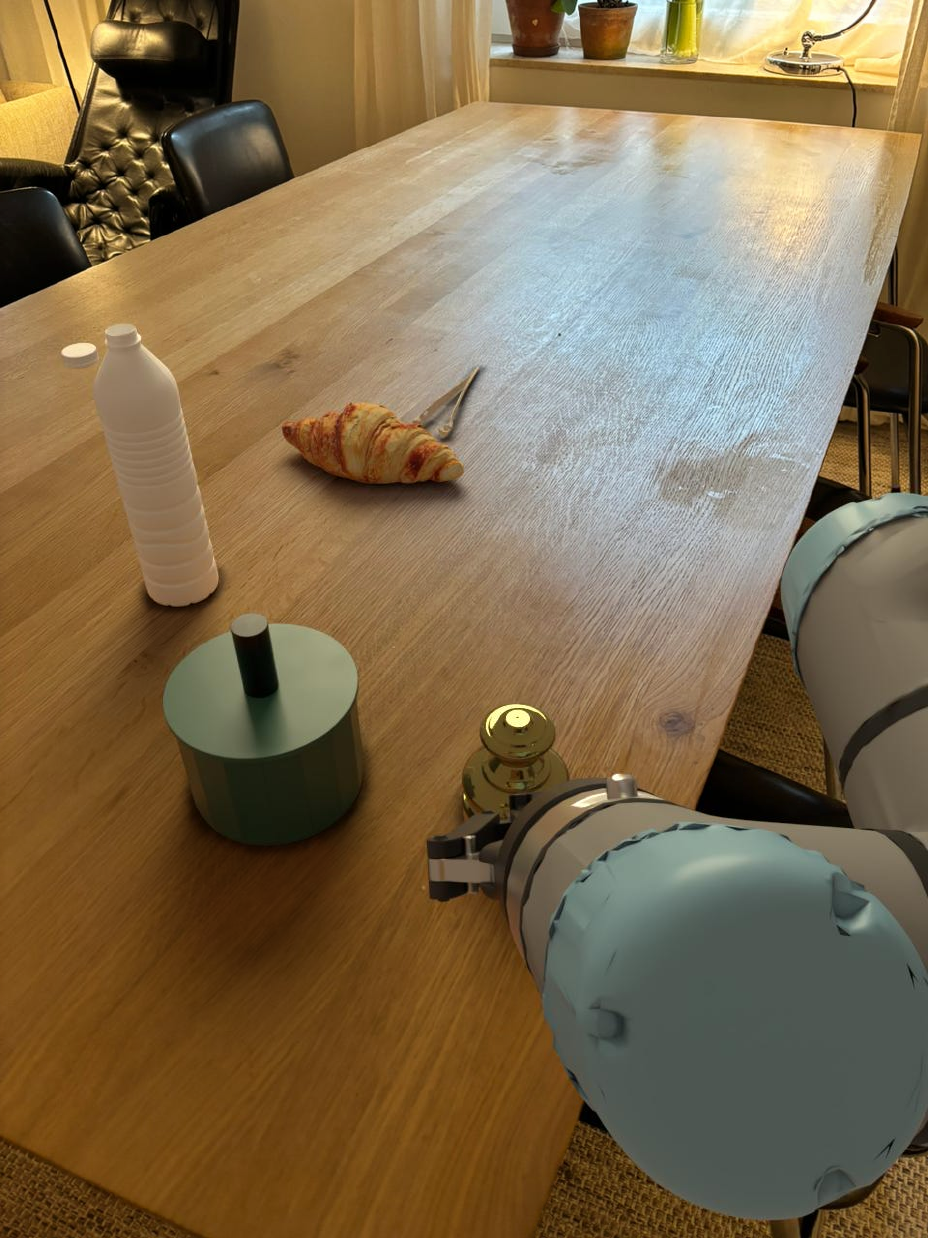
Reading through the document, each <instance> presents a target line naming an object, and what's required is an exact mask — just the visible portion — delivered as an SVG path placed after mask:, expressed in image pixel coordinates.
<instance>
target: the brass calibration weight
mask: <svg viewBox="0 0 928 1238" xmlns="http://www.w3.org/2000/svg"><path fill="white" fill-rule="evenodd" d="M478 732H479V740H480V742H481V744H482V745H480V746H479V747H478V748H477V749H475V750H473V752H472V753H471V755H470V756H469V757H468V759H467V760H466V762H465V764H464V766H463V769H462V771H461V772H462V773H461V786H462V793H461V802H462V807H463V808H462V809H463V811H462V812H463V813H462V814H463V815H462V816H463V820H464V822H465V821H466V820H468V819H469V818H471V817H472V816H473V815H475V814H476V813H481V811H483V810H492V811H494V812H499V816H500V820H505V816H504V813H506V812H510V806H509V795H511V794H517V793H525V792H544V791H546V790H547V789H549V788H551V787H553V786H556V785H558V784H561V783H563V782H566V781H570V780H571V777H570V776H571V775H570V771H569V769H568V765H567V763H565V761H564V759H563V757H562V756H561V755H560V754H559V753H558V752H557V751H556V750H555V749H553V745H554V743H555V741H556V727H555V724H554V722H553V720H552V718H551V717H550V715H548V713H546V712H545V711H544V710H542V709H540V708H539V707H537V706H534V705H532V704H527V703H521V702H511V703H505V704H502V705H498V706H497V707H494V708H493V709H491V710H490V711H488V712H487V713H486V714H485V716H484V717H483V718H482V720H481V722H480V726H479V731H478Z"/></svg>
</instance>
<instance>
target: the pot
mask: <svg viewBox="0 0 928 1238" xmlns="http://www.w3.org/2000/svg"><path fill="white" fill-rule="evenodd" d="M357 699H358V698H357ZM357 699H356V702H355V704H354V707H353V709H352V711H351V713H350V714H349V716H348V717H347V718H346V720H345V721H344V722H343V723H342V725H341V726H340V727H339V728H338V729H337V730H336V731H335V732H333V733H332V734H331V735H330V736H329V737H327V738H326V739H325V740H323V741H322V742H320V743H319V744H317V745H315V746H313V747H311V748H310V749H308V750H306V751H303V752H301V753H298V754H296V755H293V756H290V757H287V758H284V759H280V760H275V761H271V762H264V763H255V764H237V763H226V762H221V761H216V760H213V759H210V758H206V757H203V756H201V755H199V754H197V753H195V752H193V751H191V750H190V749H188V748H187V747H185V746H184V745H183V744H182V743H181V742H180V741H178V740H177V739H176V743H177V746H178V749H179V752H180V756H181V760H182V763H183V766H184V769H185V773H186V777H187V781H188V783H189V787H190V791H191V794H192V797H193V801H194V805H195V807H196V809H197V810H198V812H199V813H200V815H201V817H202V818H203V820H204V821H205V823H206V824H207V825H209V827H211V828H212V829H213V830H214V831H216V832H217V833H219V835H221V836H223V837H225V838H227V839H229V840H232V841H234V842H235V841H236V842H238V843H240V844H241V843H242V844H246V845H251V846H260V847H272V846H281V845H287V844H292V843H298V842H299V841H304V840H306V839H309V838H311V837H314V836H315V835H317V834H319V833H321V832H323V831H324V830H326V829H328V828H330V827H331V826H332V825H334V824H335V823H336V822H338V820H340V819H341V818H342V817H343V816H344V815H345V814H347V811H348V810H349V809H350V808H351V807H352V806H353V804H354V802H355V800H356V799H357V797H358V795H359V792H360V790H361V787H362V783H363V779H364V778H363V777H364V767H365V761H364V752H363V744H362V735H361V734H362V733H361V726H360V716H359V708H358V701H357Z"/></svg>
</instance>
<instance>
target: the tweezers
mask: <svg viewBox="0 0 928 1238" xmlns="http://www.w3.org/2000/svg"><path fill="white" fill-rule="evenodd" d="M479 370H480V366H476V368H474V370H473V371H472V372H470V373H469V374H468V375H467V376H466V377H465V378H464V379H462V380H461V381H460V382H458V383H457V384H456V385H455V386H453V387H452V388H450V389H449V390H448V391H447V392H445V393H444V394H442V395H441V396H440V397H438V398H436V399H435V400H433V401H432V402H431V403H430V404H429V405H428V406H426V408H425V409H424V410H422V412H420V414H419V415H417V416H416V417H415V418H414V419H413V420H412V424H422V425H423V424H424V423H425V422H426V421H427V420H428V419H429V418H431V417H433V415H434V414H436V413H437V411H438V410H439V409H441V408H442V407H443V406H444V405H446V404H447V403H449V402H450V401H451V400H452V399H454V398H455V397H456V396H457V395H459V397H458V399H457V402H456V404H455V406H454V407H453V409H452V412H451V413H450V414H451V415H450V417H449V421H448V423H446V424H444V426H442V427H439V428H437V431H438V433H439V434H438V435H439V438H441V439H444V438H445V437H446V436H448V434H449V433H450V432H451V431H452V429H453V427H454V420H455V416H456V413H457V410H458V408H459V406H460V404H461V402H462V399H463V397H464V395H465V393H466V391H467V389H468V387H469V386H470V384H471V383H472V381H473V379H474V377H475V376H476V374H477V373H478V371H479ZM426 412H427V413H426ZM425 413H426V414H425ZM424 414H425V415H424Z"/></svg>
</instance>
